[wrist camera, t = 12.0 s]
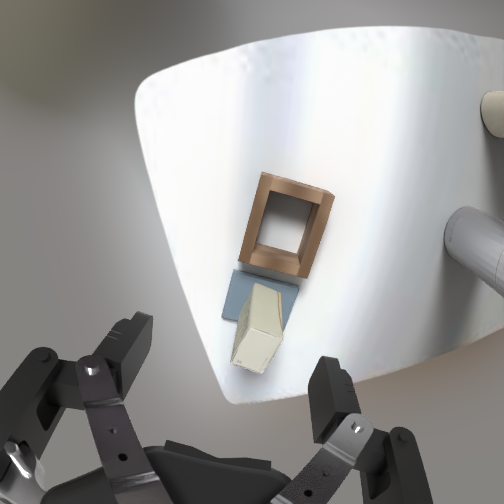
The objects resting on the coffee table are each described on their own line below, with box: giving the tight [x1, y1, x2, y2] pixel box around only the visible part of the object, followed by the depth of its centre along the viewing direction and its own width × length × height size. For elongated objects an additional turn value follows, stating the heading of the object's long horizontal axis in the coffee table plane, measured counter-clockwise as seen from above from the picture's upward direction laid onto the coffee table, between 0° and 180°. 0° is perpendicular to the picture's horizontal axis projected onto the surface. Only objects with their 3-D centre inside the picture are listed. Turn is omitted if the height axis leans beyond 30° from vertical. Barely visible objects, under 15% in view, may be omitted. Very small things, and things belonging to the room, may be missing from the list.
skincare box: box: [230, 283, 283, 374], centre depth 39 cm, size 6×4×12 cm
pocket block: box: [238, 172, 335, 279], centre depth 39 cm, size 9×11×4 cm
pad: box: [222, 269, 299, 331], centre depth 45 cm, size 10×8×1 cm
